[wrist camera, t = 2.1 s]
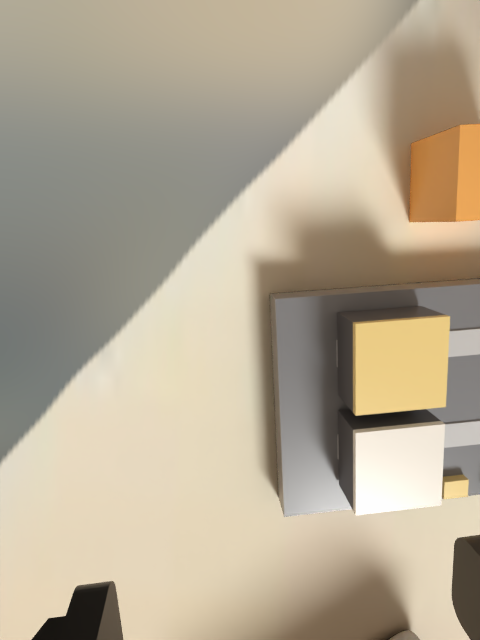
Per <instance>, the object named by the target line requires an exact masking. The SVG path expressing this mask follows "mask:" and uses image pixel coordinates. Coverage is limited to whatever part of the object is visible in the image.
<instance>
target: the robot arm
mask: <svg viewBox="0 0 480 640" xmlns="http://www.w3.org/2000/svg"><path fill="white" fill-rule="evenodd" d="M452 601H453V605H454V609H455V612H456V615H457V617H458V620H459V622H460V624H461V626H462V627H463V629H464V630H465V632H466V633H467V635H468V636H469V638H470V639H471V640H480V535H476V536H468V537H461V538H457V539H456V541H455V544H454V560H453V579H452ZM32 640H123V634H122V627H121V620H120V613H119V607H118V600H117V593H116V587H115V584H114V582H113V581H110V582H102V583H94V584H87V585H79V586H77V587H76V588H75V590H74V593H73V596H72V599H71V602H70V605H69V608H68V611H67V614H66V616H63V617H56V618H48V620H47V621H46V622H45V623H44V625H43V626H42V627H41V628H40V630H39V631H38V632H37V634H36V635H35V636H34V637H33V639H32Z"/></svg>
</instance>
